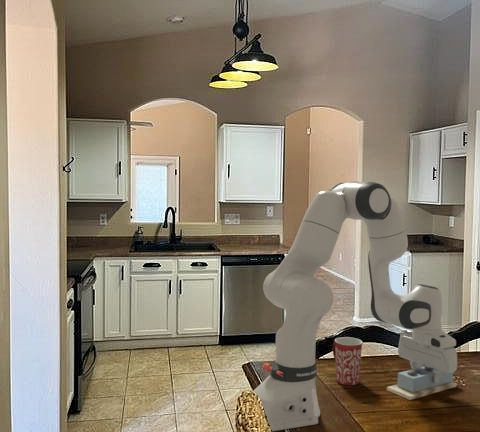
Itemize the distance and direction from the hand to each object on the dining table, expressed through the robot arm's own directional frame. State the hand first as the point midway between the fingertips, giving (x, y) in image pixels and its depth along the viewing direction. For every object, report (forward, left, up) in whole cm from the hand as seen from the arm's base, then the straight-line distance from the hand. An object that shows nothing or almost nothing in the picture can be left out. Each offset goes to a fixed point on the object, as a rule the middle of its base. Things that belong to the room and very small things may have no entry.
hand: (425, 378), depth 161 cm
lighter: (+13, +15, -3) cm, 20 cm away
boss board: (-1, 0, -3) cm, 3 cm away
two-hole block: (0, 0, -2) cm, 2 cm away
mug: (-17, +18, -3) cm, 25 cm away
